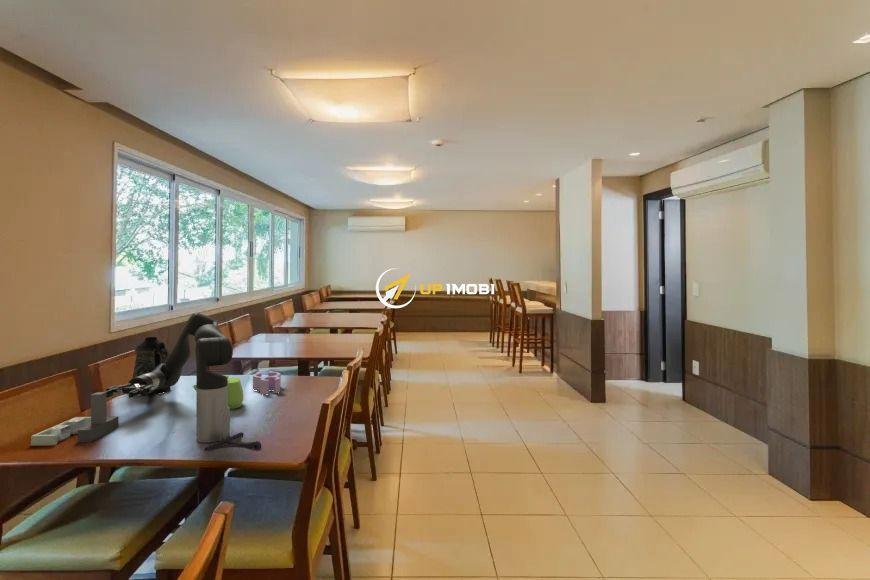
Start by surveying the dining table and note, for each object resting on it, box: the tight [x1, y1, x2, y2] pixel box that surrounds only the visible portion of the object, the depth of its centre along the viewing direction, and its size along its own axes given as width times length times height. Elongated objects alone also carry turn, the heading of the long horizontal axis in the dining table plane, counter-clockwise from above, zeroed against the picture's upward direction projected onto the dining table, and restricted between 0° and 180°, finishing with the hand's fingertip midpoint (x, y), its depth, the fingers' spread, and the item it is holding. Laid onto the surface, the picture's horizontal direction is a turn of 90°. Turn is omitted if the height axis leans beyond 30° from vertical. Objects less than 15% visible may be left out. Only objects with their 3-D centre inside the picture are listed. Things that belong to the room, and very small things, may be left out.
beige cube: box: [63, 417, 85, 435], centre depth 152 cm, size 4×4×4 cm
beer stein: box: [131, 336, 171, 397], centre depth 206 cm, size 16×19×25 cm
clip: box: [252, 370, 282, 395], centre depth 211 cm, size 20×12×7 cm, turn 31°
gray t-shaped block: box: [76, 391, 120, 443], centre depth 150 cm, size 4×14×14 cm, turn 4°
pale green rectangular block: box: [30, 416, 91, 446], centre depth 149 cm, size 7×19×3 cm, turn 4°
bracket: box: [204, 431, 262, 451], centre depth 142 cm, size 14×15×3 cm
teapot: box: [192, 374, 244, 411], centre depth 182 cm, size 18×20×13 cm
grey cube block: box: [46, 424, 71, 442], centre depth 145 cm, size 4×4×4 cm
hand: (117, 395), depth 160 cm, fingers open, 8 cm apart
